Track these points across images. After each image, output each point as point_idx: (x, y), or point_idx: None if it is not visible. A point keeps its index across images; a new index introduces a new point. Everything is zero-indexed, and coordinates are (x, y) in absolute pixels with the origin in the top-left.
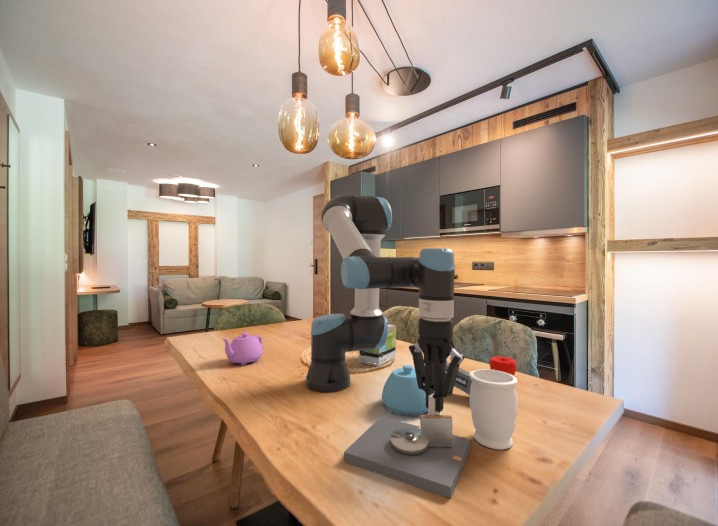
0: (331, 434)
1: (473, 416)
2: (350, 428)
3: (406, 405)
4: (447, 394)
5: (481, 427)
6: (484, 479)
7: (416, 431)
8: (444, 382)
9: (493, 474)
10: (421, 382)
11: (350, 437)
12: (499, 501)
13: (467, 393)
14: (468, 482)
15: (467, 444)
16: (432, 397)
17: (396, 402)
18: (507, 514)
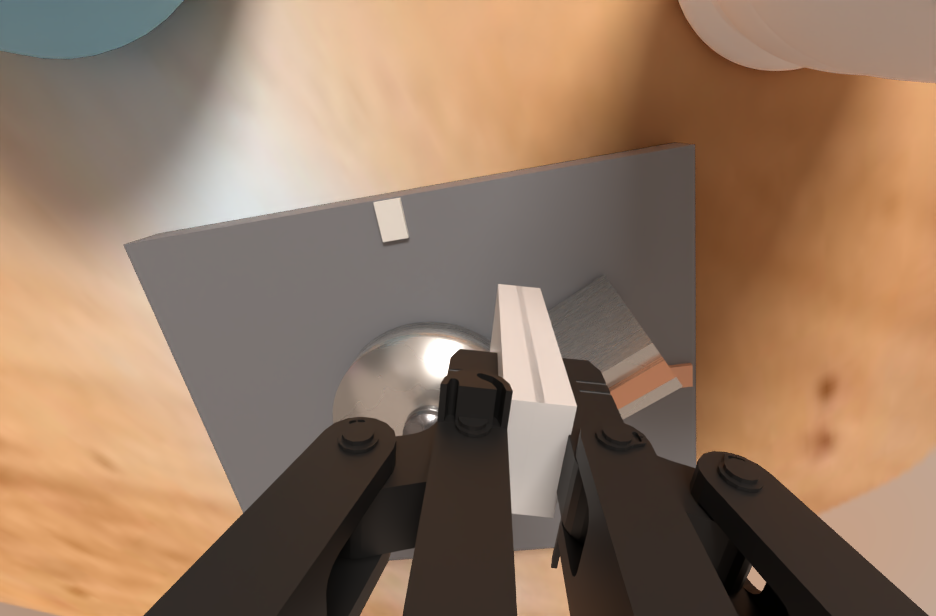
0: (95, 442)
1: (760, 12)
2: (97, 359)
3: (122, 19)
4: (744, 590)
5: (805, 66)
6: (779, 350)
7: (426, 357)
8: (706, 578)
9: (815, 295)
10: (361, 608)
11: (165, 416)
12: (843, 433)
13: None
14: (719, 402)
15: (691, 217)
16: (534, 511)
17: (40, 45)
18: (870, 473)
